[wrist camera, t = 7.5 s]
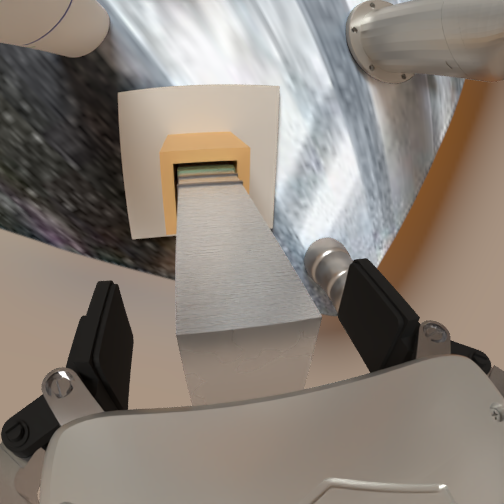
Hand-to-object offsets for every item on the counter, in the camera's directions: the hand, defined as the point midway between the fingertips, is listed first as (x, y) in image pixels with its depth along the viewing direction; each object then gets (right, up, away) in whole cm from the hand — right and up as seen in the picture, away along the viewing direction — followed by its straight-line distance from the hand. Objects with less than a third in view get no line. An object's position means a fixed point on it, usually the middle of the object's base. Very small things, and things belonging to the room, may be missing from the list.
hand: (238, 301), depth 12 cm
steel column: (-4, +9, +16) cm, 19 cm away
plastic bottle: (+11, +2, +33) cm, 34 cm away
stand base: (-6, +13, +22) cm, 26 cm away
